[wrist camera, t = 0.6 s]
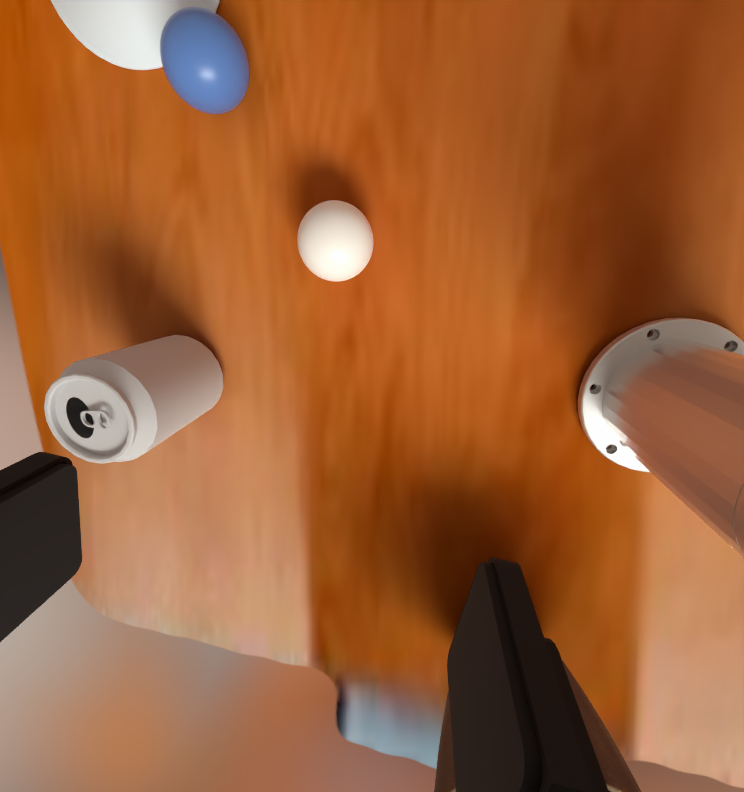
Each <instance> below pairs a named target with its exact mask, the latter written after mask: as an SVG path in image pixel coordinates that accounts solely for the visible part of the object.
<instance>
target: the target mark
mask: <svg viewBox="0 0 744 792" xmlns="http://www.w3.org/2000/svg"><path fill="white" fill-rule="evenodd" d="M51 2H52V4H53V5H54V7H55V9H56V11H57V13H58V14H59V16H60V17H61V19H62V20H63V22H64V23H65V25H66V26H67V27H68V29H69V30H70V31H71V32H72V33H73V34H74V36H75V37H76V38H77V39H78V40H79V41H80V42H81V43H82V44H83V45H84V46H86V47H87V48H88V49H89V50H91V51H92V52H93V53H95V54H96V55H97V56H99V57H100V58H102V59H104V60H106V61H108V62H110V63H112V64H114V65H117V66H120V67H123V68H127V69H132V70H153V69H159V68H162V67H163V65H162V62H161V57H160V39H161V34H162V30H163V28H164V25H165V23H166V22H167V20H168V19H169V18H170V17H171V16H172V15H173V14H174V13H175V12H177V11H178V10H180V9H183V8H185V7H202V8H205V9H208V10H211V11H213V12H215V13H216V11H217V8H218V6H219V2H220V0H51Z"/></svg>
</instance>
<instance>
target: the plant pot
mask: <svg viewBox="0 0 744 792" xmlns="http://www.w3.org/2000/svg"><path fill="white" fill-rule="evenodd" d="M543 637H544V636H543ZM544 638H545V637H544ZM562 662H563V661H562ZM563 665H564V668H565V671H566V673H567V676H568V679H569V682H570V685H571V687H572V690H573V693H574V696H575V699H576V701H577V704H578V707H579V710H580V712H581V715H582V718H583V721H584V724H585V726H586V729H587V732H588V735H589V738H590V740H591V743H592V746H593V749H594V751H595V754H596V757H597V760H598V763H599V765H600V768H601V771H602V774H603V777H604V779H605V782H606V785H607V788H608V790H609V792H641V790H640V788H639V786H638V784H637V783H636V781H635V779H634V777H633V775H632V773H631V772H630V770H629V768H628V766H627V764H626V762H625V760H624V759H623V757H622V755H621V753H620V751H619V750H618V748H617V746H616V744H615V743H614V741H613V739H612V738H611V736H610V734H609V732H608V731H607V729H606V727H605V725H604V724H603V722H602V720H601V719H600V717H599V716H598V714H597V712H596V711H595V709H594V708H593V706H592V704H591V703H590V701H589V700H588V698H587V696H586V695H585V693H584V692H583V690H582V689H581V687H580V686H579V684H578V683H577V681H576V680H575V678H574V677H573V675H572V674H571V672H570V671H569V669H568V668H567V666H566V665H565V664H564V662H563ZM434 792H456V786H455V772H454V757H453V743H452V728H451V714H450V699H449V691H448V696H447V701H446V707H445V712H444V718H443V723H442V730H441V737H440V744H439V752H438V761H437V771H436V780H435V790H434Z"/></svg>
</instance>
